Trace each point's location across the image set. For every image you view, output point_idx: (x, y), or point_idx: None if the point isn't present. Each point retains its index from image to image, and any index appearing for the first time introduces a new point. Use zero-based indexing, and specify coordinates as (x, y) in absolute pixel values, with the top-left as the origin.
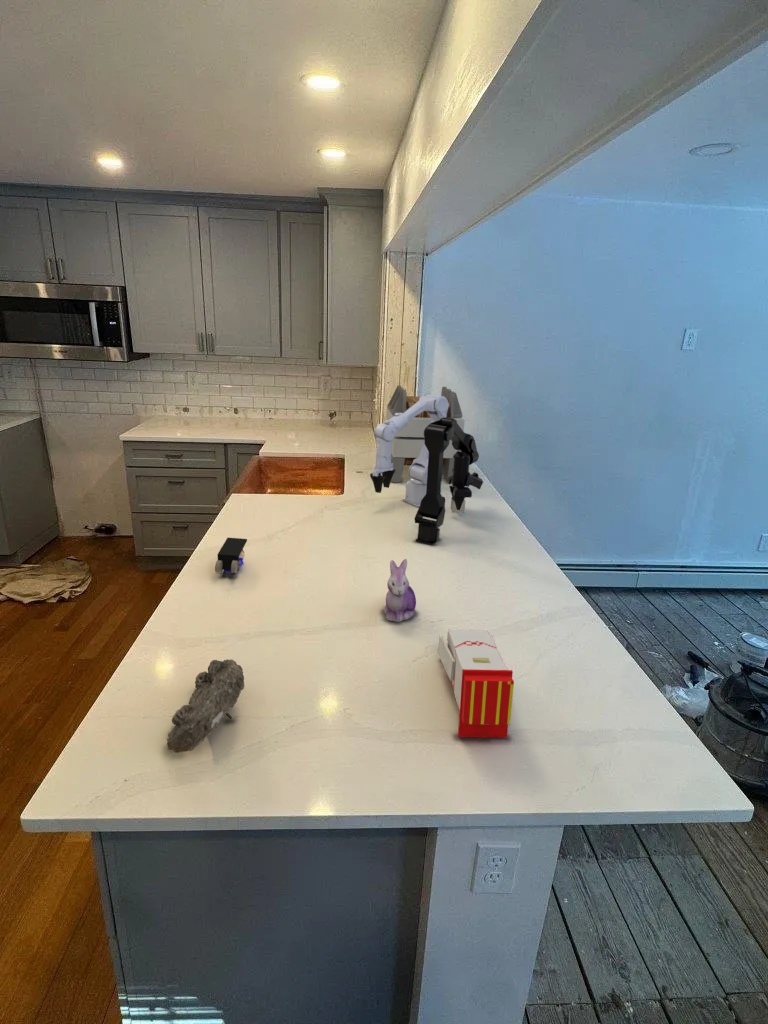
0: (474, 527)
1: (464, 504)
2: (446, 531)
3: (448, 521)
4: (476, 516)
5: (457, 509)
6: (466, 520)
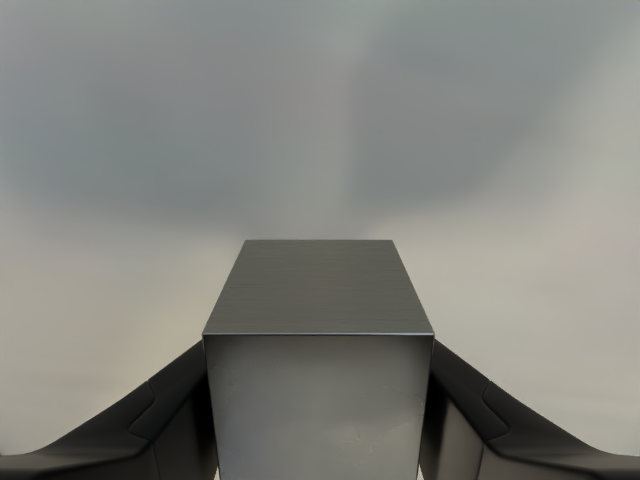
0: (554, 117)
1: (419, 308)
2: (609, 377)
3: None
4: (195, 18)
5: None
6: (344, 168)
